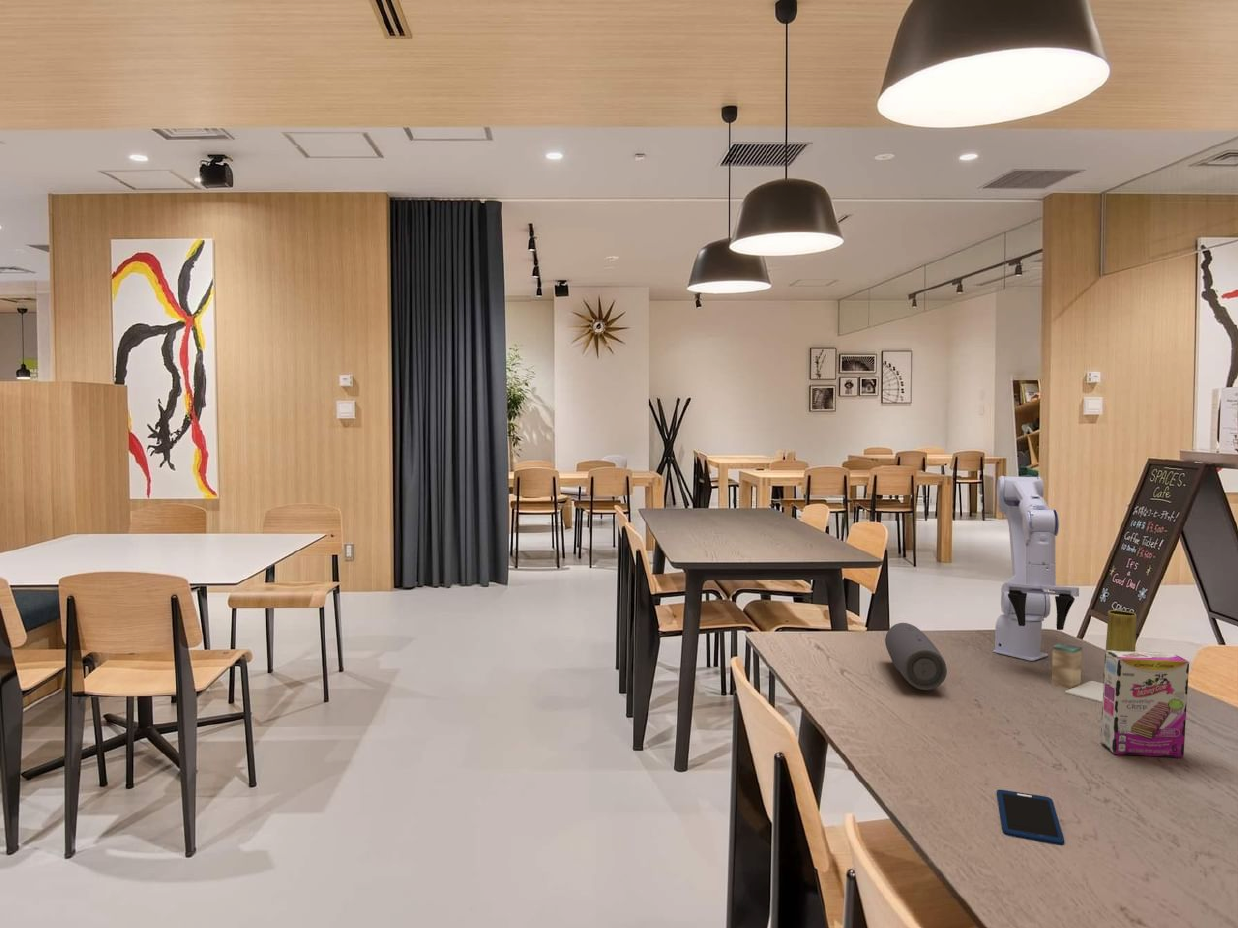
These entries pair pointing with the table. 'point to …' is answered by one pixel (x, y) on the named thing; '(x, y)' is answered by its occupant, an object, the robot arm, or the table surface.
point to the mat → (1088, 691)
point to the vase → (1121, 631)
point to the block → (1066, 665)
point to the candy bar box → (1144, 703)
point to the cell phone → (1029, 817)
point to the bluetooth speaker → (915, 656)
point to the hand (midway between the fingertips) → (1040, 627)
